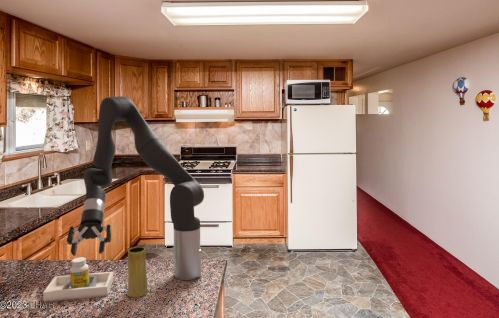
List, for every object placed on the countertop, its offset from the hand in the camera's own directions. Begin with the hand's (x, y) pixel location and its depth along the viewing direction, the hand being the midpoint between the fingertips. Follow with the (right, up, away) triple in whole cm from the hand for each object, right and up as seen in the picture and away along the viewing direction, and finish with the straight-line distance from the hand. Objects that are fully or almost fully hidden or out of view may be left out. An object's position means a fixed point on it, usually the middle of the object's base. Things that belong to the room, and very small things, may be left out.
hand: (87, 253), depth 119 cm
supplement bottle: (+2, -9, -9) cm, 13 cm away
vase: (+21, -10, -11) cm, 25 cm away
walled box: (+2, -9, -9) cm, 13 cm away
